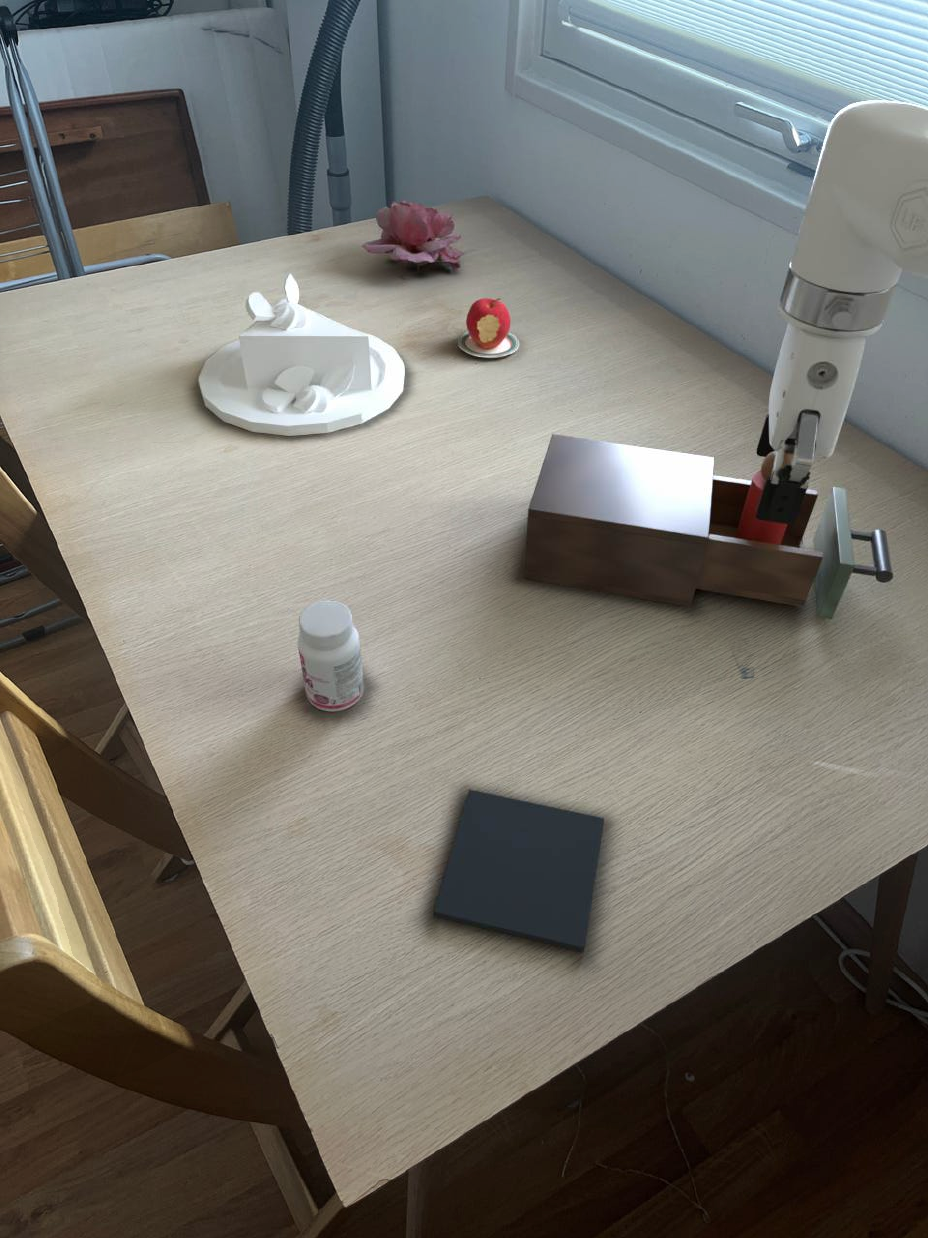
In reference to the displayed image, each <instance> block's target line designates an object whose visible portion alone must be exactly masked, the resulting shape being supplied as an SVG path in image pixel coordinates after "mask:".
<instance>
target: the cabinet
mask: <svg viewBox="0 0 928 1238" xmlns="http://www.w3.org/2000/svg"><path fill="white" fill-rule="evenodd" d="M714 472H715V457H713V456H708V455H707V456H705V455H700V454H692V453H685V452H679V451H673V450H664V449H658V448H651V447H650V448H649V447H645V446H637V445H630V444H623V443H616V442H610V441H602V440H598V439H597V440H596V439H589V438H583V437H574V436H569V435H562V434H555V433H553V434H551V437H550V440H549V443H548V446H547V450H546V452H545V455H544V459H543V462H542V465H541V469H540V471H539V474H538V477H537V481H536V483H535V487H534V490H533V493H532V496H531V499H530V503H529V506H528V509H527V518H526V519H527V520H526V531H525V544H524V557H523V567H522V579H525V580H530V581H531V580H532V581H537V582H540V583H541V582H542V583H547V584H553V585H559V586H565V587H571V588H577V589H582V590H587V591H594V592H599V593H600V592H601V593H605V594H612V595H617V596H622V597H630V598H635V599H640V600H647V601H652V602H657V603H664V604H669V605H675V606H681V607H686V608H691V607H692V604H693V603H692V602H693V599H694V596H695V591H696V589H695V588H696V585H697V581H698V577H699V573H700V570H701V566H702V562H703V558H704V555H705V551H706V547H707V543H708V540H709V530H710V516H711V502H712V487H713V475H714Z"/></svg>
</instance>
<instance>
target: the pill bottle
mask: <svg viewBox="0 0 928 1238" xmlns="http://www.w3.org/2000/svg"><path fill="white" fill-rule="evenodd" d="M298 624H299V625H298V626H299V635H298V637H297V649H298V656H299V661H300V666H301V672H302V679H303V683H304V691H305V695H306V698H307V700H308V701H309V703H310V704H311V705H312V706H313V707H315V708H317V709H318V710H321V711H324V712H339V711H343V710H344V711H345V710H346V709H348V708H350V707H352V706H354V705H355V704H356V703H358V702H359V700H361V698H362V696H363V693H364V689H365V681H364V673H363V670H364V669H363V661H362V651H361V641H360V634H359V632H358V630H357V628H356V627H355V625H354V624H353V615H352V612H351V610H350V609H349V608H348V606H346V605H345V604H344V603H342V602H339V601H336V600H319V601H316V602H313V603H311V604H309V605H308V606H306V607H305V608H304V609H303V610H302V611H301V613H300V615H299V619H298Z"/></svg>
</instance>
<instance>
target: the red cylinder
mask: <svg viewBox="0 0 928 1238" xmlns="http://www.w3.org/2000/svg"><path fill="white" fill-rule="evenodd" d="M775 455H776V451H773V452H771V453H769V454H768V455H767V456H766V457H763V458H764V459H763V460H762V463H761V466H760V470H758V471H757V472H755V473H754V474H753V475H752V479H751V481H752V482H751V485H750V489H749V492H748V496H747V499H746V502H745V506H744V509H743V513H742V516H741V519H740V523H739V526H738V529H737V533H736V536H735V538H739V539H745V540H751V541H757V542H764V543H770V544H776V545H780V544H781V541H782V538H783V535H784V532H785V529H786V527H787V524H783V523H777V522H770V521H764V520H759V519H757V518H756V510H757V507H758V504H759V501H760V497H761V494H762V491H763V488H764V485H765V481H766V478H767V476H770V477H771V475H772V470H773V465H774V460H775ZM792 458H793V455H791V454H785V455H784V460H783V465H782V469H783V468H784V467H785V466H786V465H791V461H792Z"/></svg>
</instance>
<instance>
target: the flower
mask: <svg viewBox="0 0 928 1238" xmlns="http://www.w3.org/2000/svg"><path fill="white" fill-rule="evenodd" d="M437 209H438V208H433V207H425V206H424V205H422V204H420V203H416V202H414V201H406V200H404V199H402V201H400V202H399V203H397V202H395V200H393V201H392V203H391V206H390V208H389V207H388V206H383V207H382V208H379V209H378V210H377V211H376V213H375V220H376V223H377V226H378V227H379V228H381V230H382V231H381V233H380V238H378V239H374V240H371V241H366V242H364V243H363V244H361V248H363V249H364V251H366V252H368V253H370V254H376V255H377V254H389V253H391V255H390V260H392V261H393V262H394V261H395V262H401V263H403V265H404V267H405V266H406V264H411V265H412V266H414V264H415V265H416V269H417V271H418V273H419V274H421V272H420V266H423V265H427V264H431V263H435V262H436V263H440V264H450V267H451V269H452V271H455V270H457V269H459V268H461V264H460V261H458V259H459V258H461V257H463V256H464V255H465V252H464V251H462V250H459V249H458V248H456V247H454V246H451V245H453V244H455V243H458V241H460V240H461V239H462V234H460V235H451V234H452V233H453V231H454V230H455V223H454V220H452V219H453V214H452V213H447V212H445V211H438V210H437ZM436 239H437V240H436Z"/></svg>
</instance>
